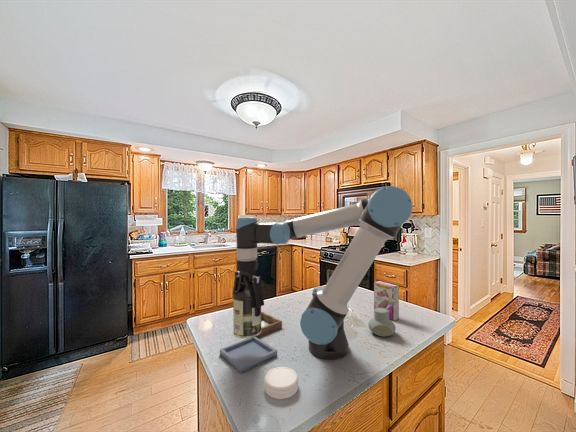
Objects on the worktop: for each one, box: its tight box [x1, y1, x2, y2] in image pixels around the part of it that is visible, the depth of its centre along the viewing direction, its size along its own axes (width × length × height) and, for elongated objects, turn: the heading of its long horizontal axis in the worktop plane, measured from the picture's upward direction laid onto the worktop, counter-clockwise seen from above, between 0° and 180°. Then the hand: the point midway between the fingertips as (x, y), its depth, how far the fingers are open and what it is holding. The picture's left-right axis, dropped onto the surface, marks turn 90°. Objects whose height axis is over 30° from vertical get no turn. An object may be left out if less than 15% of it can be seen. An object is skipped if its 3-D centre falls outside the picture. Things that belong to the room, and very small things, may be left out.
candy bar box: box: [373, 280, 400, 322], centre depth 123 cm, size 11×5×16 cm, turn 34°
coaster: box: [263, 366, 299, 400], centre depth 73 cm, size 10×10×4 cm
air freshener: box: [368, 308, 396, 338], centre depth 106 cm, size 11×8×10 cm
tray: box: [219, 337, 278, 375], centre depth 90 cm, size 15×15×2 cm
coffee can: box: [232, 288, 262, 339], centre depth 90 cm, size 10×10×14 cm
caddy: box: [256, 311, 283, 339], centre depth 113 cm, size 15×15×3 cm
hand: (247, 320), depth 90 cm, fingers closed on coffee can, 10 cm apart
